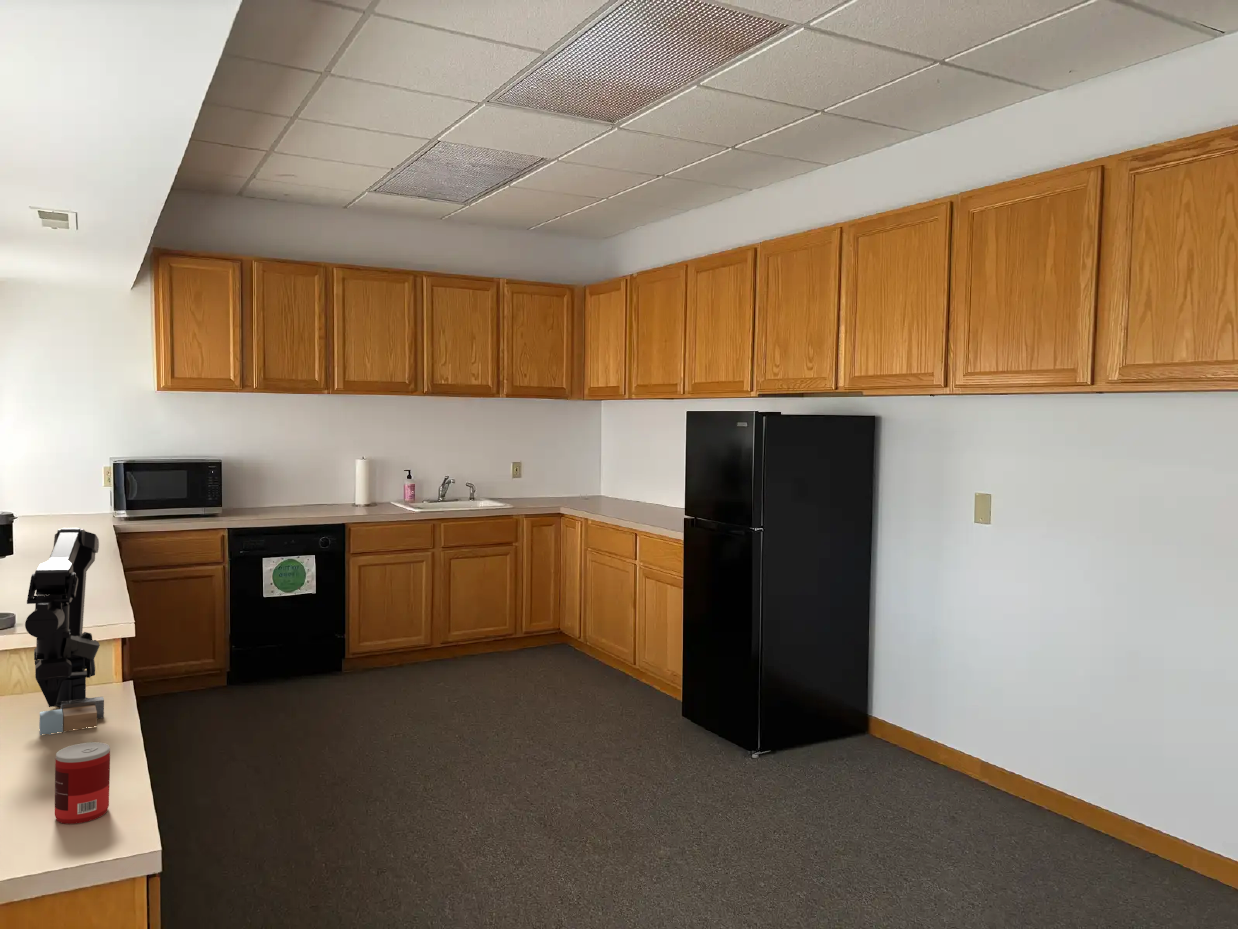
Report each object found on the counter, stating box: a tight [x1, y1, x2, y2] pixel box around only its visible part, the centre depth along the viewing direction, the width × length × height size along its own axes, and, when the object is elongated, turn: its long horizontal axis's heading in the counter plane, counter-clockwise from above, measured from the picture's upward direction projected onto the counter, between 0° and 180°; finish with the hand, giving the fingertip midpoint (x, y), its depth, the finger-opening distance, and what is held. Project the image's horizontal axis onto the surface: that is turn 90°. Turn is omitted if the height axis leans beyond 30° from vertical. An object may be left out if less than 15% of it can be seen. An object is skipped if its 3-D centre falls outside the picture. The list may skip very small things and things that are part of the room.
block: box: [38, 708, 64, 736], centre depth 188 cm, size 4×4×4 cm
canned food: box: [54, 741, 111, 825], centre depth 149 cm, size 8×8×11 cm
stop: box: [60, 696, 105, 719], centre depth 196 cm, size 3×8×4 cm, turn 124°
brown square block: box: [63, 705, 98, 732], centre depth 192 cm, size 6×6×4 cm
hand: (51, 700), depth 187 cm, fingers open, 9 cm apart
